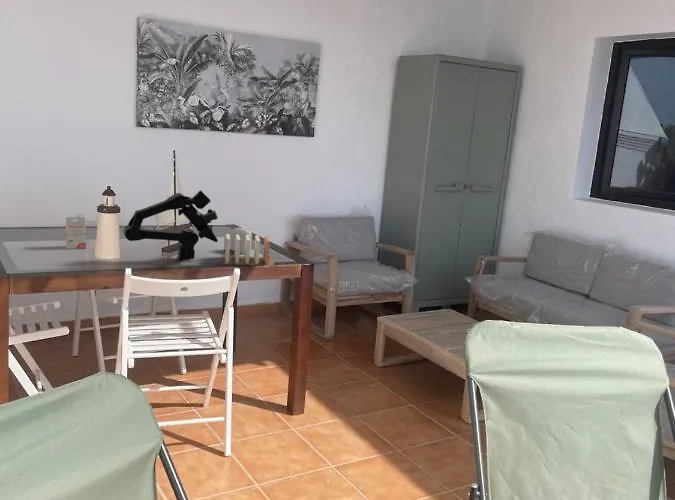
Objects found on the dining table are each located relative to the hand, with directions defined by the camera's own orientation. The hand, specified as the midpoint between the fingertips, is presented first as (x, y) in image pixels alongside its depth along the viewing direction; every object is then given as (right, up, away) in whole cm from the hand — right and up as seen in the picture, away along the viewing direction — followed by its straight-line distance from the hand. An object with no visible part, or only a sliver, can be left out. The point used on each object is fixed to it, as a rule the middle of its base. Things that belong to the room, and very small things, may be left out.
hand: (217, 241), depth 314 cm
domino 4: (+17, -9, +6) cm, 20 cm away
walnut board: (+13, -10, +5) cm, 17 cm away
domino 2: (+8, -9, +4) cm, 13 cm away
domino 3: (+13, -9, +5) cm, 16 cm away
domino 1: (+4, -8, +3) cm, 10 cm away
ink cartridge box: (-65, -3, +1) cm, 65 cm away
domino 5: (+21, -9, +7) cm, 24 cm away
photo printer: (+8, -6, +20) cm, 22 cm away
